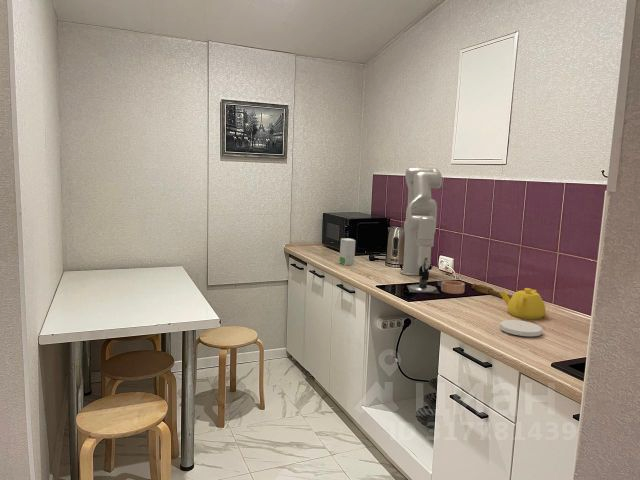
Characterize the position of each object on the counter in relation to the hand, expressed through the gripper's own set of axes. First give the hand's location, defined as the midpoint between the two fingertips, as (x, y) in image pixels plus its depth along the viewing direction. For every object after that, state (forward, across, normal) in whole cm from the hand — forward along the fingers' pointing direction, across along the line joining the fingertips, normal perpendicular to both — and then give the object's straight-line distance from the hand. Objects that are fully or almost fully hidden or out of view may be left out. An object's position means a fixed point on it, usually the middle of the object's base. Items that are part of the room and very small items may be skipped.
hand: (423, 278), depth 230 cm
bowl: (+6, 0, +14) cm, 15 cm away
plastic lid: (+8, +57, +27) cm, 64 cm away
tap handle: (+7, +3, +33) cm, 34 cm away
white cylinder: (+5, -62, -38) cm, 73 cm away
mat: (+6, -1, 0) cm, 6 cm away
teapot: (+7, +33, +35) cm, 49 cm away
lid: (+6, -1, 0) cm, 6 cm away
